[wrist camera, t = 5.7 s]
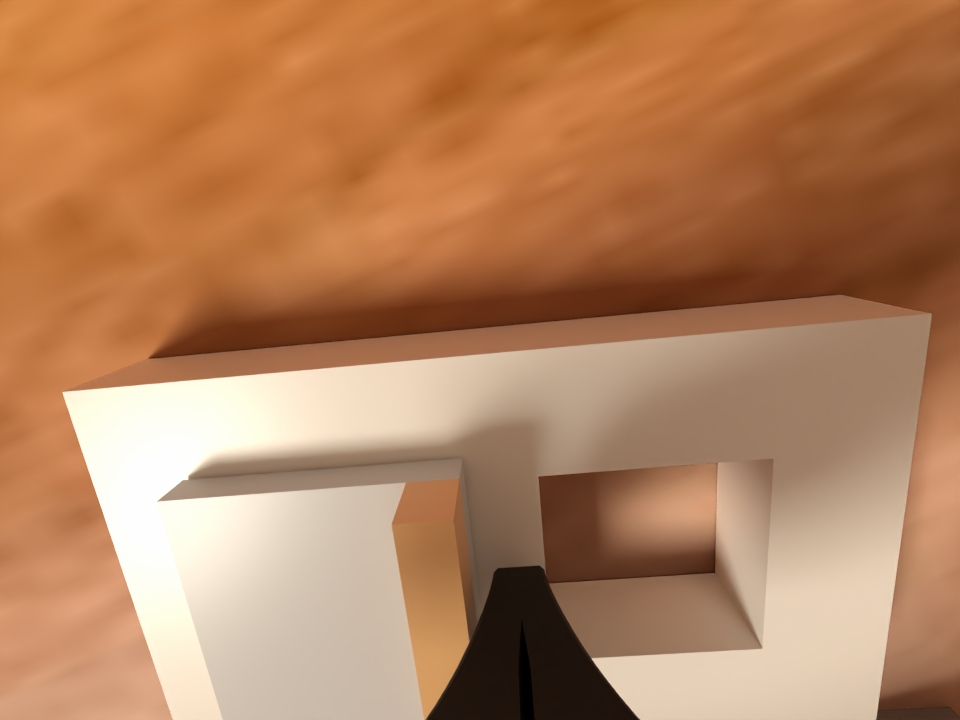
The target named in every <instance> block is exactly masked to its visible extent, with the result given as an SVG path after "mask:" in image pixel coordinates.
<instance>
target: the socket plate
mask: <svg viewBox="0 0 960 720" xmlns="http://www.w3.org/2000/svg"><path fill="white" fill-rule="evenodd" d="M931 319H932V314H931V313H927V312H922V311H917V310H912V309H907V308H902V307H898V306H893V305H888V304H883V303H878V302H873V301H869V300H864V299H859V298H854V297H849V296H844V295H832V296H821V297H810V298H799V299H789V300H778V301H767V302H756V303H746V304H735V305H724V306H713V307H703V308H692V309H681V310H670V311H659V312H649V313H638V314H627V315H616V316H606V317H595V318H584V319H573V320H563V321H552V322H541V323H530V324H520V325H509V326H498V327H487V328H477V329H466V330H455V331H444V332H434V333H423V334H412V335H401V336H391V337H380V338H369V339H358V340H348V341H337V342H326V343H315V344H305V345H294V346H283V347H272V348H262V349H251V350H240V351H229V352H219V353H208V354H197V355H186V356H176V357H165V358H154V359H146V360H143V361H141V362H138V363H136V364H133V365H130V366H128V367H125V368H123V369H120V370H118V371H115V372H112V373H110V374H107V375H105V376H102V377H100V378H97V379H94V380H92V381H89V382H87V383H84V384H82V385H79V386H77V387H74V388H71V389H69V390H66V391H64V392H62V393H63V396H64V399H65V402H66V405H67V407H68V410H69V413H70V416H71V419H72V422H73V425H74V428H75V431H76V434H77V437H78V440H79V443H80V446H81V449H82V452H83V455H84V458H85V461H86V464H87V467H88V470H89V473H90V476H91V479H92V481H93V484H94V487H95V490H96V493H97V496H98V499H99V502H100V505H101V508H102V511H103V514H104V517H105V520H106V523H107V526H108V529H109V532H110V535H111V538H112V541H113V544H114V547H115V550H116V553H117V555H118V558H119V561H120V564H121V567H122V570H123V573H124V576H125V579H126V582H127V585H128V588H129V591H130V594H131V597H132V600H133V603H134V606H135V609H136V612H137V615H138V618H139V621H140V624H141V626H142V629H143V632H144V635H145V638H146V641H147V644H148V647H149V650H150V653H151V656H152V659H153V662H154V665H155V668H156V671H157V674H158V677H159V680H160V683H161V686H162V689H163V692H164V695H165V698H166V700H167V703H168V706H169V709H170V712H171V715H172V718H173V720H223V719H222V715H221V712H220V709H219V706H218V702H217V699H216V696H215V692H214V689H213V686H212V683H211V679H210V676H209V673H208V669H207V666H206V663H205V660H204V656H203V653H202V650H201V646H200V643H199V640H198V637H197V633H196V630H195V627H194V623H193V620H192V617H191V614H190V610H189V607H188V604H187V600H186V597H185V594H184V591H183V587H182V584H181V581H180V577H179V574H178V571H177V568H176V564H175V561H174V558H173V554H172V551H171V548H170V545H169V541H168V538H167V535H166V531H165V528H164V525H163V522H162V518H161V515H160V512H159V508H158V505H157V501H158V500H159V499H160V498H161V497H163V496H164V495H165V494H166V493H168V492H169V491H170V490H171V489H172V488H174V487H175V486H176V485H177V484H179V483H180V482H181V481H182V480H189V479H201V478H214V477H227V476H240V475H252V474H265V473H278V472H290V471H303V470H316V469H329V468H341V467H354V466H367V465H379V464H392V463H405V462H417V461H430V460H443V459H456V458H462V460H463V468H464V476H465V485H466V493H467V501H468V510H469V518H470V526H471V534H472V543H473V551H474V559H475V568H476V576H477V584H478V592H479V601H480V609H481V614H482V611H483V609H484V606H485V603H486V600H487V597H488V594H489V591H490V587H491V583H492V579H493V573H494V572H495V571H496V569H497V568H508V567H523V566H538V565H540V566H541V567H542V568H543V569H544V570H545V574H546V568H545V555H544V542H543V529H542V516H541V504H540V491H539V478H538V476H551V475H564V474H577V473H590V472H603V471H616V470H630V469H643V468H656V467H669V466H682V465H695V464H709V463H718V476H717V514H716V551H715V573H706V574H690V575H675V576H659V577H643V578H628V579H612V580H596V581H581V582H565V583H549V585H550V587H551V589H552V592H553V594H554V596H555V598H556V600H557V602H558V604H559V606H560V608H561V610H562V612H563V614H564V615H565V617H566V619H567V620H568V622H569V624H570V626H571V627H572V629H573V631H574V632H575V634H576V636H577V637H578V639H579V640H580V642H581V644H582V645H583V647H584V648H585V650H586V651H587V653H588V654H589V656H590V657H591V659H592V660H593V661H594V663H595V664H596V666H597V667H598V668H599V670H600V671H601V673H602V674H603V675H604V677H605V678H606V679H607V681H608V682H609V683H610V684H611V686H612V687H613V688H614V689H615V691H616V692H617V693H618V694H619V696H620V697H621V698H622V699H623V700H624V702H625V703H626V704H627V705H628V706H629V708H630V709H631V710H632V711H633V712H634V713H635V715H636V716H637V717H638V718H639V719H640V720H876V717H877V710H878V703H879V696H880V688H881V681H882V674H883V667H884V659H885V652H886V645H887V638H888V630H889V623H890V616H891V609H892V602H893V594H894V587H895V580H896V573H897V565H898V558H899V551H900V544H901V536H902V529H903V522H904V515H905V508H906V500H907V493H908V486H909V479H910V471H911V464H912V457H913V450H914V442H915V435H916V428H917V421H918V413H919V406H920V399H921V392H922V385H923V377H924V370H925V363H926V356H927V348H928V341H929V334H930V327H931Z"/></svg>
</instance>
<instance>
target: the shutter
mask: <svg viewBox="0 0 960 720" xmlns="http://www.w3.org/2000/svg"><path fill="white" fill-rule="evenodd" d="M157 505H158V508H159V512H160V515H161V518H162V522H163V525H164V528H165V531H166V535H167V538H168V541H169V545H170V548H171V551H172V554H173V558H174V561H175V564H176V568H177V571H178V574H179V577H180V581H181V584H182V587H183V591H184V594H185V597H186V600H187V604H188V607H189V610H190V614H191V617H192V620H193V623H194V627H195V630H196V633H197V637H198V640H199V643H200V646H201V650H202V653H203V656H204V660H205V663H206V666H207V669H208V673H209V676H210V679H211V683H212V686H213V689H214V692H215V696H216V699H217V702H218V706H219V709H220V712H221V715H222V719H223V720H426V718H427V717H428V715H429V714H430V712H431V711H432V709H433V708H434V706H435V705H436V703H437V701H438V700H439V698H440V697H441V695H442V693H443V692H444V690H445V688H446V687H447V685H448V683H449V681H450V680H451V678H452V676H453V674H454V672H455V670H456V669H457V667H458V665H459V663H460V661H461V659H462V657H463V654H464V652H465V650H466V648H467V646H468V644H469V642H470V640H471V638H472V636H473V633H474V631H475V629H476V626H477V624H478V621H479V619H480V616H481V609H480V601H479V592H478V584H477V576H476V568H475V559H474V551H473V543H472V534H471V526H470V518H469V510H468V501H467V493H466V485H465V476H464V468H463V460H462V458H456V459H443V460H430V461H417V462H405V463H392V464H379V465H367V466H354V467H341V468H329V469H316V470H303V471H290V472H278V473H265V474H252V475H240V476H227V477H214V478H201V479H189V480H182V481H181V482H180V483H179V484H177V485H176V486H175V487H174V488H172V489H171V490H170V491H169V492H168V493H166V494H165V495H164V496H163V497H161V498H160V499H159V500H158V501H157Z"/></svg>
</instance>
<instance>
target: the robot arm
mask: <svg viewBox="0 0 960 720" xmlns="http://www.w3.org/2000/svg"><path fill="white" fill-rule="evenodd" d="M426 720H640V719H639V718H638V717H637V716H636V715H635V713H634V712H633V711H632V710H631V709H630V708H629V706H628V705H627V704H626V703H625V702H624V700H623V699H622V698H621V697H620V696H619V694H618V693H617V692H616V691H615V689H614V688H613V687H612V686H611V684H610V683H609V682H608V681H607V679H606V678H605V677H604V675H603V674H602V673H601V671H600V670H599V668H598V667H597V666H596V664H595V663H594V661H593V660H592V659H591V657H590V656H589V654H588V653H587V651H586V650H585V648H584V647H583V645H582V644H581V642H580V640H579V639H578V637H577V636H576V634H575V632H574V631H573V629H572V627H571V626H570V624H569V622H568V620H567V619H566V617H565V615H564V614H563V612H562V610H561V608H560V606H559V604H558V602H557V600H556V598H555V596H554V594H553V592H552V589H551V587H550V585H549V582H548V580H547V577H546V574H545V570H544V569H543V568H542V567H541V566H540V565H538V566H523V567H508V568H497V569H496V571H495V572H494V573H493V579H492V583H491V587H490V591H489V594H488V597H487V600H486V603H485V606H484V609H483V611H482V614H481V616H480V619H479V621H478V624H477V626H476V629H475V631H474V633H473V636H472V638H471V640H470V642H469V644H468V646H467V648H466V650H465V652H464V654H463V657H462V659H461V661H460V663H459V665H458V667H457V669H456V670H455V672H454V674H453V676H452V678H451V680H450V681H449V683H448V685H447V687H446V688H445V690H444V692H443V693H442V695H441V697H440V698H439V700H438V701H437V703H436V705H435V706H434V708H433V709H432V711H431V712H430V714H429V715H428V717H427V718H426Z"/></svg>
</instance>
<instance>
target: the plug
mask: <svg viewBox="0 0 960 720" xmlns="http://www.w3.org/2000/svg"><path fill="white" fill-rule="evenodd" d="M876 720H960V718H959V717H958V716H957V714H956V713H955V712H954V711H953V710H952V709H951V708H950V707H941V708H920V709H899V710H879V711H877V717H876Z"/></svg>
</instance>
